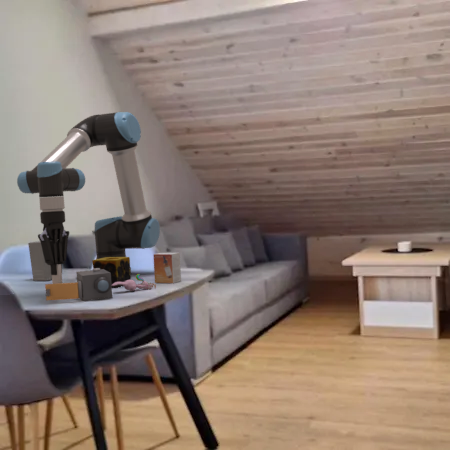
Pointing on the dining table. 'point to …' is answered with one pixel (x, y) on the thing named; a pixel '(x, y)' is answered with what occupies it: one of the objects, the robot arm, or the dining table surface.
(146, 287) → the pink creature figurine
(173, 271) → the small box
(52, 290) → the side door
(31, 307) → the dining table surface
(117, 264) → the candle
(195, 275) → the dining table surface
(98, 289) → the camera body
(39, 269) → the skincare box
